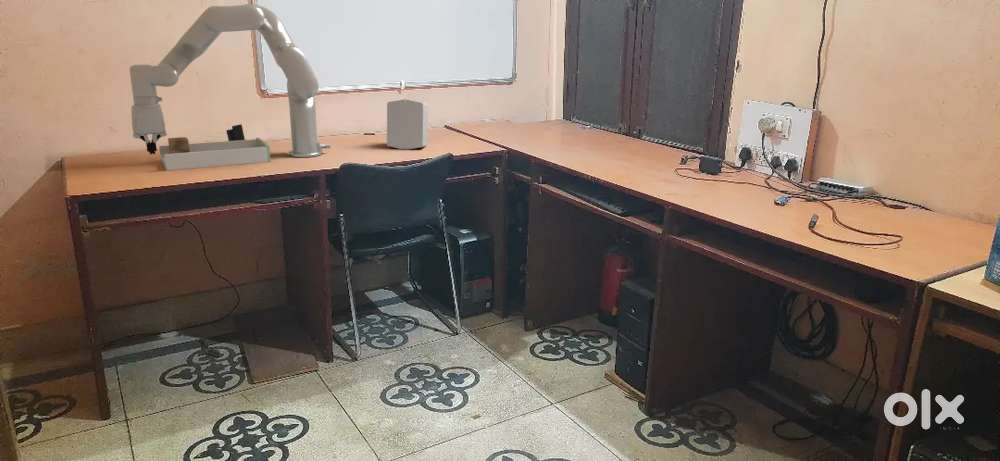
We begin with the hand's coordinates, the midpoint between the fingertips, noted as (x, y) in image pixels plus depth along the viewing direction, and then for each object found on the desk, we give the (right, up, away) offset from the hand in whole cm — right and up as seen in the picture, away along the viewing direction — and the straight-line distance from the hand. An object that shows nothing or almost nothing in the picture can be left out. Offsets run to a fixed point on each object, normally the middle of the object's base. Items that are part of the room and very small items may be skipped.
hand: (152, 153), depth 255 cm
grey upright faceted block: (+85, +7, +43) cm, 96 cm away
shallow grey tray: (+19, -2, +8) cm, 21 cm away
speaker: (+20, +4, +28) cm, 34 cm away
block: (+8, 0, +5) cm, 9 cm away
